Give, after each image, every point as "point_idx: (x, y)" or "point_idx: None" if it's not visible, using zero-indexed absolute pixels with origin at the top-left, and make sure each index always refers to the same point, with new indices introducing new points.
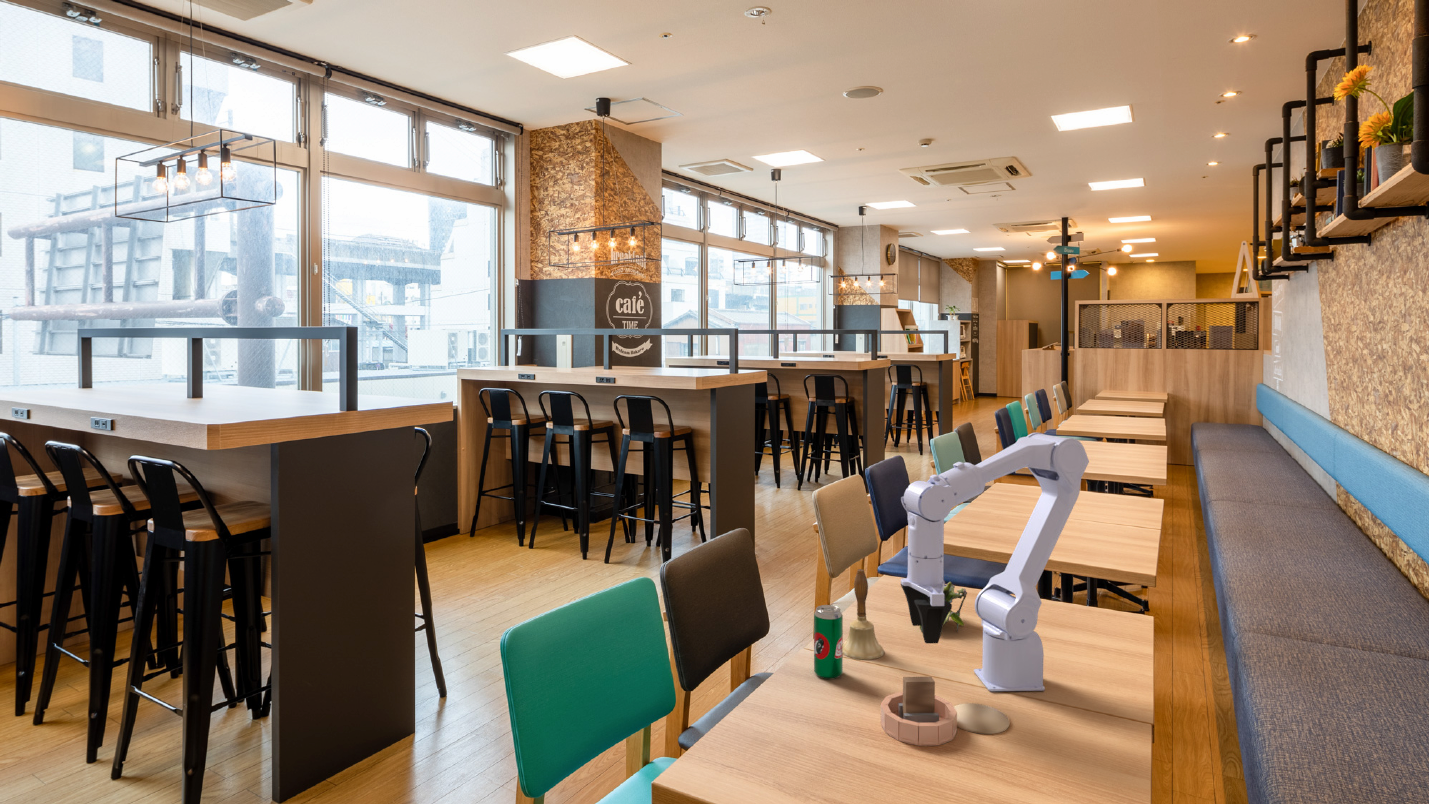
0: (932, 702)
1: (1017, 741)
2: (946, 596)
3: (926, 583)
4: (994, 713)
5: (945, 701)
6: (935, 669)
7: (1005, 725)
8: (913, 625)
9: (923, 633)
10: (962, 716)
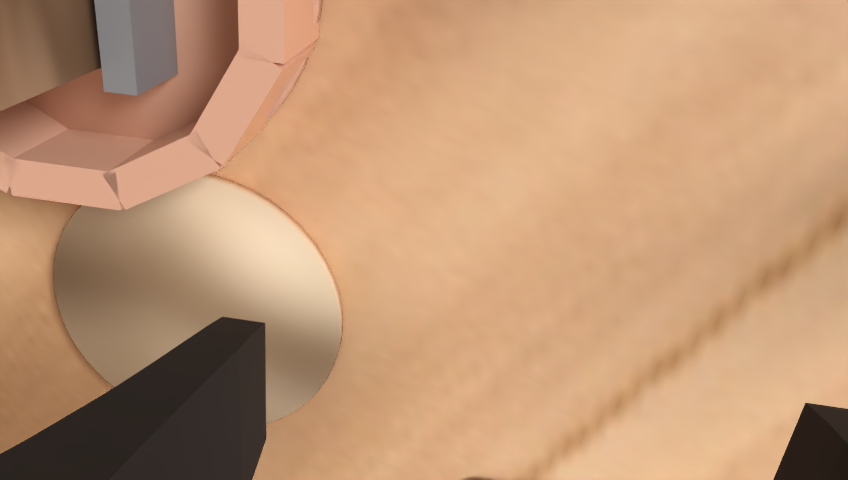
0: None
1: (16, 364)
2: None
3: None
4: None
5: (141, 186)
6: (823, 356)
7: (119, 382)
8: (804, 407)
9: (163, 366)
10: (197, 242)
